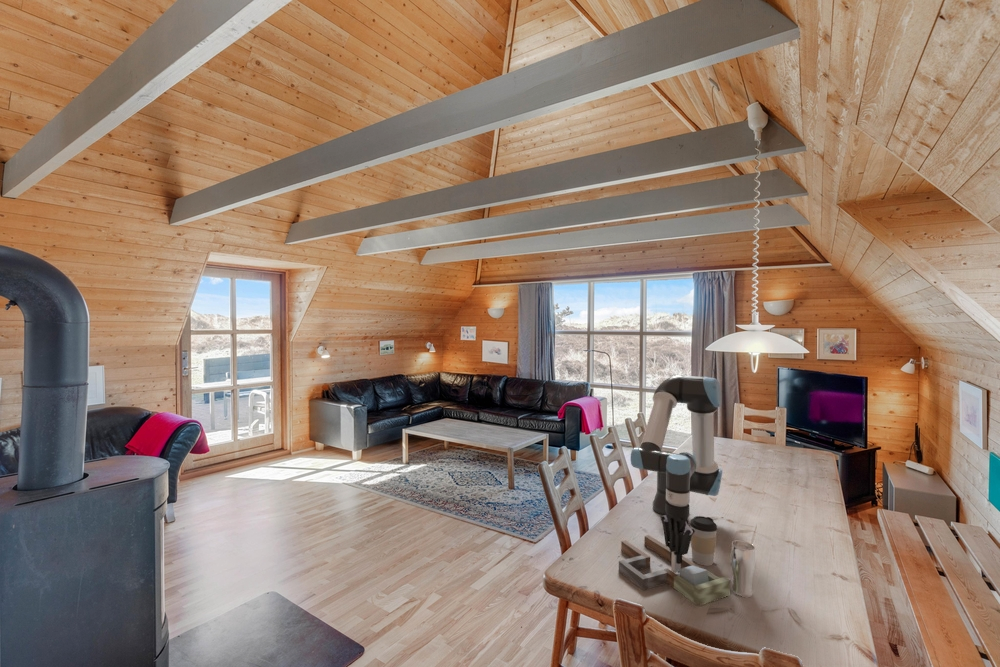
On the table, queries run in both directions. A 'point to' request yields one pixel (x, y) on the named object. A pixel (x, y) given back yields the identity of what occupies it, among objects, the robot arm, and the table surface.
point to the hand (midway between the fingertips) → (675, 570)
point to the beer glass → (742, 567)
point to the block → (694, 575)
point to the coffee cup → (703, 540)
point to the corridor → (669, 574)
